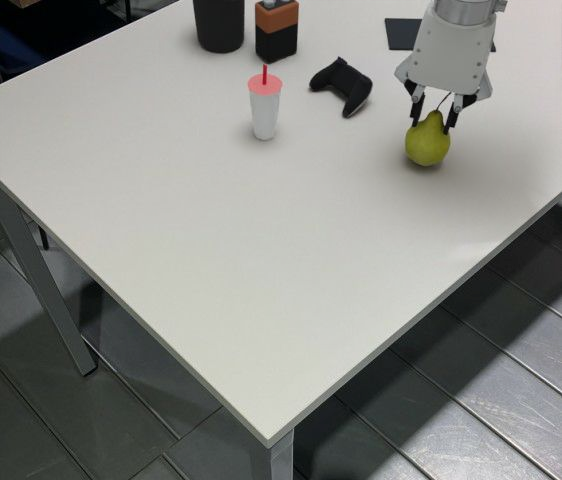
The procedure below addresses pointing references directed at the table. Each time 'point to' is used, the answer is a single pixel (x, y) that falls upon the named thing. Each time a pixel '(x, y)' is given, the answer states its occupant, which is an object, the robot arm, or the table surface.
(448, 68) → the robot arm
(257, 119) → the cup
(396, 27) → the mat
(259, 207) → the table surface
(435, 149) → the fruit
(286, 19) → the battery
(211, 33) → the pen holder
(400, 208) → the table surface
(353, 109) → the gaming controller
